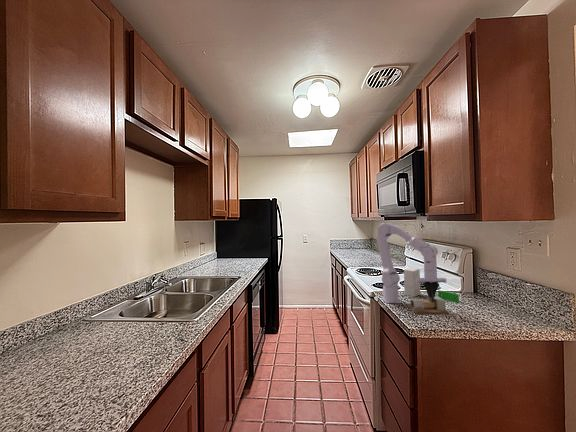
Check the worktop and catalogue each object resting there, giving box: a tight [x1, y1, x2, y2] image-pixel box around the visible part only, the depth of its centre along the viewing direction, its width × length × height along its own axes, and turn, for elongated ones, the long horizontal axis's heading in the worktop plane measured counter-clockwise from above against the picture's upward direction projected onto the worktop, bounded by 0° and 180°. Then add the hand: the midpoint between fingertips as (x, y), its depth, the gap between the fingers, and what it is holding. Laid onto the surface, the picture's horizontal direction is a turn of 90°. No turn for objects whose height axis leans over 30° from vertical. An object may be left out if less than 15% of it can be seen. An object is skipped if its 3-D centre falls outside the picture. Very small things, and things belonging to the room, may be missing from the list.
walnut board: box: [406, 303, 449, 315], centre depth 138 cm, size 12×15×1 cm
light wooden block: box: [423, 292, 437, 307], centre depth 138 cm, size 3×8×7 cm, turn 88°
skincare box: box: [403, 267, 421, 298], centre depth 166 cm, size 8×7×16 cm
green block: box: [437, 289, 460, 304], centre depth 154 cm, size 11×4×5 cm, turn 27°
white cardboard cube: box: [410, 298, 425, 309], centre depth 138 cm, size 4×5×4 cm
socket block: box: [434, 296, 446, 310], centre depth 138 cm, size 7×4×5 cm, turn 178°
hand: (431, 296), depth 138 cm, fingers closed on light wooden block
